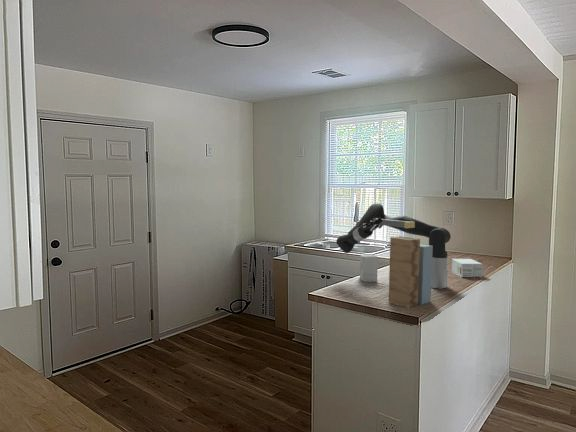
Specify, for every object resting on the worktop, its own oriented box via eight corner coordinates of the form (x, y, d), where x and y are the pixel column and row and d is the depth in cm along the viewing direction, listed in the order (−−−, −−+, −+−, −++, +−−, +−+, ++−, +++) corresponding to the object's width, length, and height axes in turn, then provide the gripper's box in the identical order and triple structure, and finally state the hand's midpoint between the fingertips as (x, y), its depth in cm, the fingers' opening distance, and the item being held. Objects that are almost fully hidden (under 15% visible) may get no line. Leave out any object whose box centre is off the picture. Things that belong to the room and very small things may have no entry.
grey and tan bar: (379, 223, 237) (379, 218, 237) (414, 227, 218) (414, 221, 218) (371, 224, 233) (371, 218, 233) (406, 228, 214) (407, 222, 214)
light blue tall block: (410, 296, 223) (412, 242, 221) (430, 302, 213) (432, 245, 211) (401, 298, 219) (403, 243, 216) (421, 304, 209) (423, 247, 207)
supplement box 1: (374, 278, 265) (374, 254, 264) (377, 281, 256) (378, 256, 255) (359, 278, 264) (359, 254, 263) (362, 281, 255) (362, 256, 254)
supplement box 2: (451, 272, 286) (451, 258, 285) (471, 272, 285) (471, 258, 285) (461, 278, 269) (461, 263, 268) (482, 278, 269) (483, 263, 268)
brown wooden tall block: (397, 299, 217) (399, 236, 214) (417, 305, 207) (420, 239, 205) (388, 302, 213) (390, 237, 210) (408, 307, 203) (410, 240, 201)
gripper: (373, 237, 246) (394, 224, 233) (355, 239, 238) (376, 226, 225) (369, 225, 248) (389, 212, 236) (351, 227, 240) (371, 213, 228)
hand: (383, 219), depth 230 cm, fingers closed on grey and tan bar, 3 cm apart
